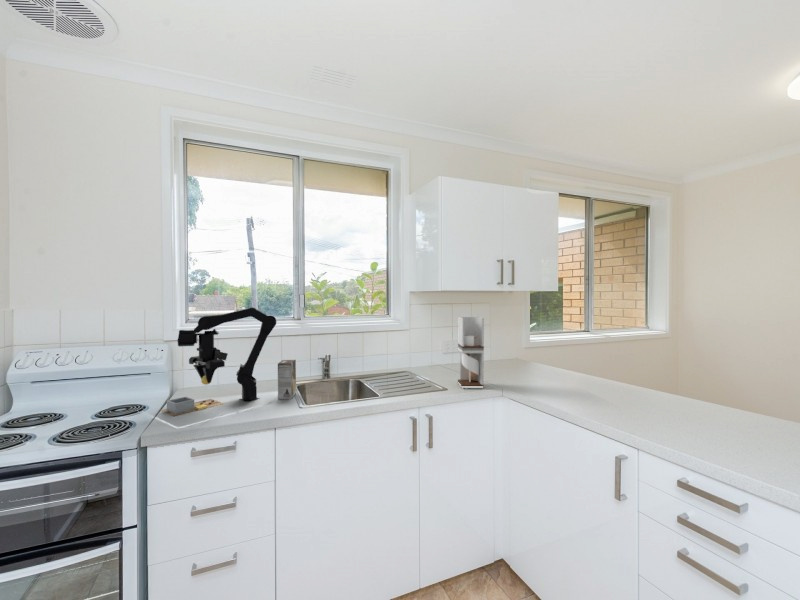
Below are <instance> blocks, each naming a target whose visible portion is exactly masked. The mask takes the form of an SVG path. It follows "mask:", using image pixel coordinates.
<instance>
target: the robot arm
mask: <svg viewBox="0 0 800 600" xmlns="http://www.w3.org/2000/svg"><path fill="white" fill-rule="evenodd" d="M250 317H251V318H253V319H255V320H257V321H259V322H261V326H260V329H259V333H258V335H257V338H256V339H255V342H254V344H253V346H252V348H251V351H250V353H249V355H248V358H247V359H246V362H244V364H242V363H240V364H239V365H240V366H239V369H238V370H237V371H236V380H237V383H238V384H240V386H241V398H239V401H242V402H246V403H248V402H252V401H256V400H261V399H260V398H259V397H257V396H258V394H257V392H258V391H257V389H258V388H257V378H256V377H254V376H253V373H254V368H255V365H256V363H257V360H258V358H259V356H260V354H261V351H262V349H263V347H264V345H265V342H266V340H267V338H268V336H269V335H270V333H271V332H272V331H273V330H274V329H275V327H276V325H277V319H276V317H275V316H274V315H272V314H266V313H264V312H262V311H261V310H258V309H257V308H255V307H253V306H251V307H249V308H248V307H247V308H244V309H240V310H235V311H232V312H228V313H224V314H223V313H222V314H212V315H211V314H210V315H204V316H202V317H200V318H199V319H198V321H197V326H196V327H194V329H189V330H188V329H187V330H186V329H179V330H178V337H177V346H178V347H194V346H195V344H198V347H196V352H197V351H198V355H196V356H190V358H189V359H188V364H189V365H193V367H194V369H195V370H196V372H197V374H198V375H199V377H200V379H202V377H203V376H205V377H206V380H207V382H208V383H212V381H213V380H212V379H213V378H214V374H215V372H216V370H217V369H219V368H224V367H225V366H226V365H225V362H226V361H227V359H228V358H227V357H228V355H229V354H228V353H227V352H224V351H221V350H220V349H218V348H217V347H216V346H215V336H217V335H219V334H220V333H219V331H218V330H216V328H215V327H218V326H220V325H222V324H224V323H225V324H226V323H229V322H233V321H237V320H241V319H245V318H250ZM210 329H213V330H210ZM202 331H204V332H202ZM201 332H202V333H201ZM211 380H212V381H211Z"/></svg>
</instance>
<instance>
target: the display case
mask: <svg viewBox="0 0 800 600" xmlns="http://www.w3.org/2000/svg"><path fill="white" fill-rule="evenodd" d="M484 340H485V318H484V317H483V318H482V317H479V316H458V317H457V350H458V351H459V379H457V383H458V382H459V383H460V384H461V386H485V385H484V384H485V383H484V382H485V381H484V374H485V373H484V372H485V371H484V367H485V364H484V361H485V360H484V359H485V357H484V355H485V353H484V352H485V345H484V343H485V341H484Z"/></svg>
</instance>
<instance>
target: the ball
mask: <svg viewBox="0 0 800 600" xmlns="http://www.w3.org/2000/svg"><path fill="white" fill-rule="evenodd" d="M200 379H201V378H200ZM212 381H213V380H211V382H212ZM200 382H201V383H202V385H205V386H206V385H207V386H208V385H210V383H208V382H207V380H206V377H205V376H203V377H202V379H201V381H200Z"/></svg>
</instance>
